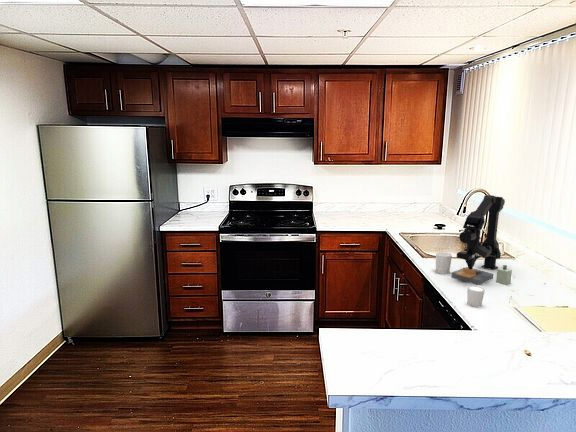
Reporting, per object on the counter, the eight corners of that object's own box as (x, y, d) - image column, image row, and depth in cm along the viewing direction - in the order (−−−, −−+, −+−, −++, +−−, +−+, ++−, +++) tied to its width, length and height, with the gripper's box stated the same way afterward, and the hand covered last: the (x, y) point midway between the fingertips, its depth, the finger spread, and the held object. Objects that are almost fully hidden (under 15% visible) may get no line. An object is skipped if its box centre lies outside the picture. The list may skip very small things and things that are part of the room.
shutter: (462, 271, 207) (463, 267, 206) (475, 275, 201) (476, 270, 201) (456, 274, 203) (456, 269, 203) (469, 278, 198) (469, 273, 197)
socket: (467, 271, 217) (467, 266, 216) (493, 278, 206) (493, 273, 205) (451, 276, 208) (451, 272, 207) (477, 284, 197) (478, 280, 196)
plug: (500, 280, 203) (502, 263, 201) (510, 283, 199) (512, 265, 197) (495, 282, 200) (497, 265, 199) (506, 285, 196) (508, 267, 195)
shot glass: (462, 300, 178) (464, 285, 176) (477, 300, 178) (479, 285, 177) (471, 307, 171) (472, 291, 170) (486, 306, 172) (488, 291, 170)
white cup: (451, 275, 210) (453, 256, 208) (435, 274, 212) (437, 255, 210) (448, 270, 218) (450, 252, 216) (433, 269, 220) (434, 251, 218)
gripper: (479, 246, 189) (476, 277, 192) (498, 240, 200) (495, 270, 203) (457, 241, 198) (454, 271, 201) (477, 235, 209) (474, 264, 212)
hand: (470, 269), depth 204 cm, fingers closed
